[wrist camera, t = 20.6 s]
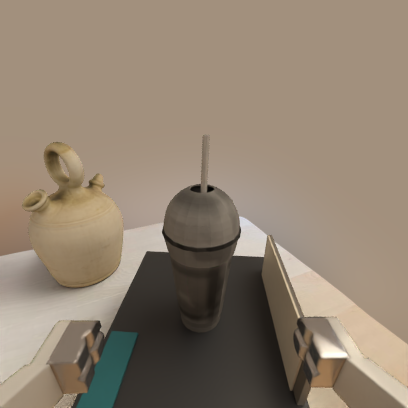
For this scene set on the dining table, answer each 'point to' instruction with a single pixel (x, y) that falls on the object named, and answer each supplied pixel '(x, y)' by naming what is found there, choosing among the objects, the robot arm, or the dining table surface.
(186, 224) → the beverage cup
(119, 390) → the printer
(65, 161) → the jug
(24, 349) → the dining table surface
